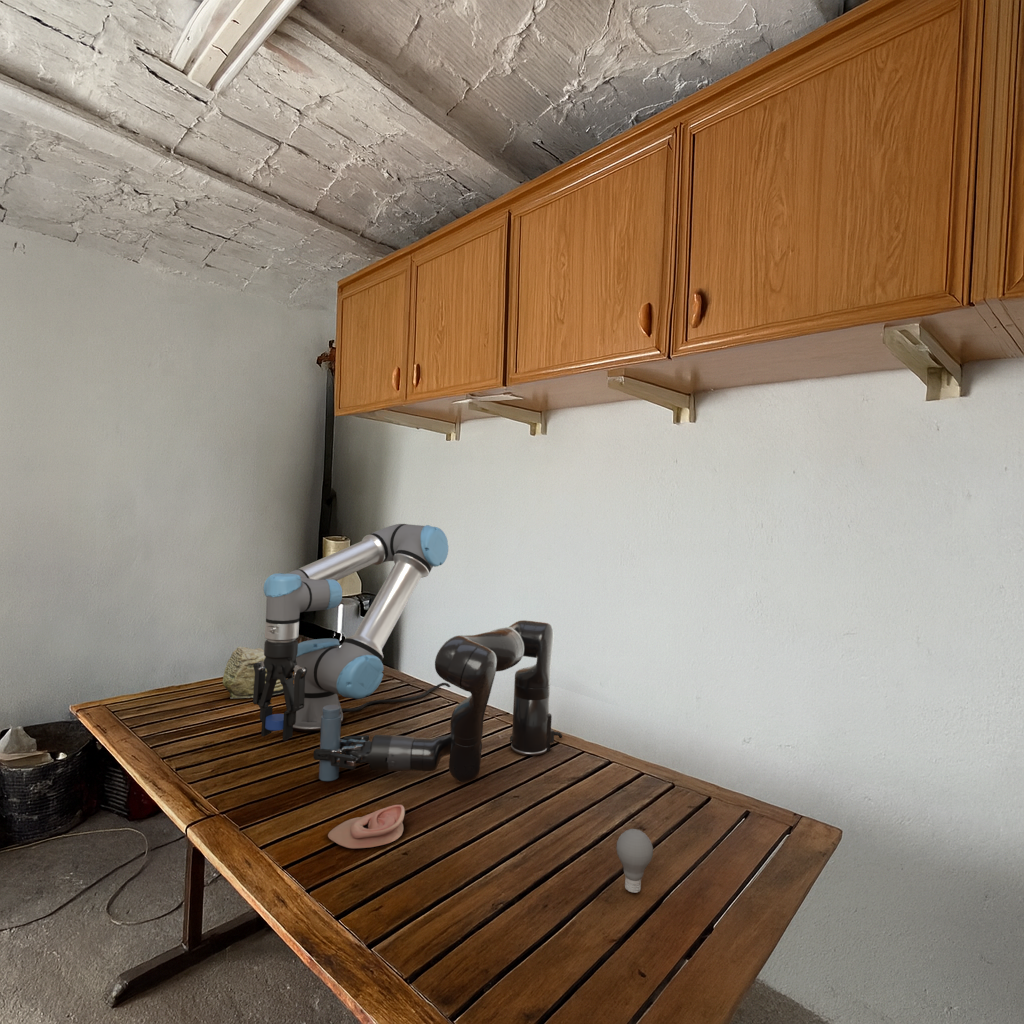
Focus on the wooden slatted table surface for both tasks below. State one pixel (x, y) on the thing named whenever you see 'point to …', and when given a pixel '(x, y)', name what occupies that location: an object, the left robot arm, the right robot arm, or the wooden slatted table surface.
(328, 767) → the jar
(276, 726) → the lid
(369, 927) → the wooden slatted table surface
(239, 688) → the fossil
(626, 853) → the light bulb
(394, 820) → the anatomical model
